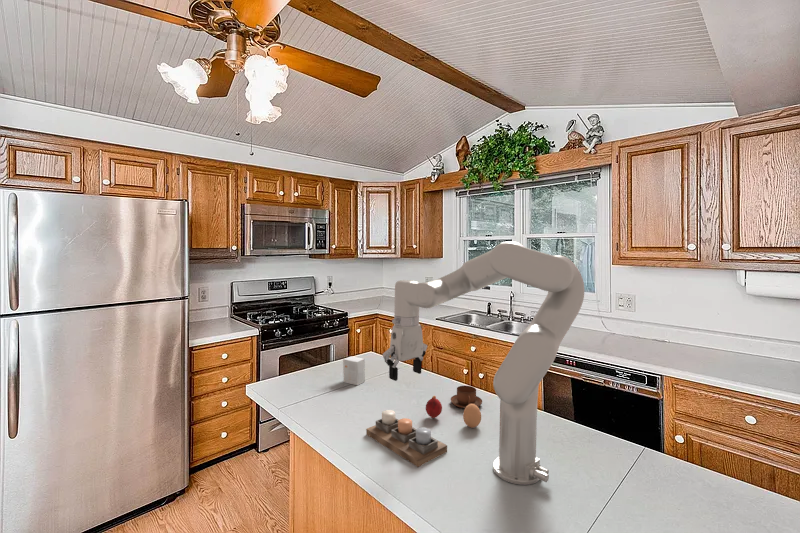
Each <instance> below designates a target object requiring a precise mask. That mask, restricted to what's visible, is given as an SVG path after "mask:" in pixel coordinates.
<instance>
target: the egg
mask: <svg viewBox="0 0 800 533" xmlns="http://www.w3.org/2000/svg"><path fill="white" fill-rule="evenodd" d="M462 419H463V421H464V422H463V423H464V424H465V425H466V426H467V427H469V428H472V429H473V428H477V427H478V426H479V425H480V424H481V421H482V412H481V411H480V408H479V407H477V406H476V405H475V404H469V405H467V406H466V408H464V409H463V414H462Z"/></svg>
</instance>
